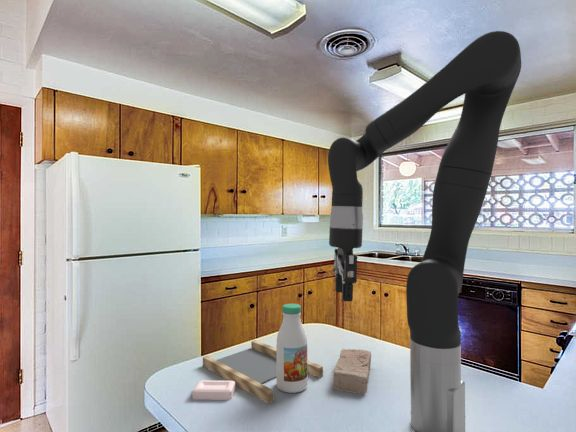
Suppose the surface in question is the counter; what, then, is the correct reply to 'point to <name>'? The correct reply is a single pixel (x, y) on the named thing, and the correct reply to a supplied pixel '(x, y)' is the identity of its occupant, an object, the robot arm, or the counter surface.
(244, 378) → the rails
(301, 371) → the milk bottle
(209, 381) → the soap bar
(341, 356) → the brick
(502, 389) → the counter surface
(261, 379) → the mat
